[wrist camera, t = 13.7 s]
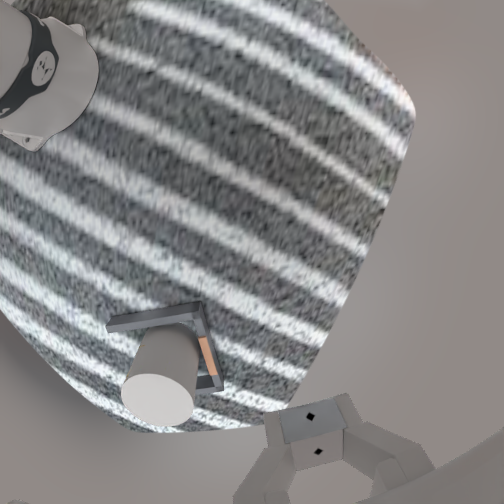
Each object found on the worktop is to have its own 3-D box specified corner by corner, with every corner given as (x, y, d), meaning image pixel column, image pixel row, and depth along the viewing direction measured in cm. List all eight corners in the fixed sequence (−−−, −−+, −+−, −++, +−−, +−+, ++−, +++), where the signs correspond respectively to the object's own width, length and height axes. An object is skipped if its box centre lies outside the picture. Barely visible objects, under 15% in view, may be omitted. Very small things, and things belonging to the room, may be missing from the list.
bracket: (143, 388, 42) (138, 402, 39) (112, 316, 39) (104, 328, 35) (223, 378, 43) (223, 393, 39) (200, 301, 39) (198, 312, 36)
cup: (137, 323, 39) (110, 374, 28) (193, 317, 40) (183, 371, 28) (152, 370, 42) (135, 426, 30) (205, 366, 42) (201, 424, 30)
